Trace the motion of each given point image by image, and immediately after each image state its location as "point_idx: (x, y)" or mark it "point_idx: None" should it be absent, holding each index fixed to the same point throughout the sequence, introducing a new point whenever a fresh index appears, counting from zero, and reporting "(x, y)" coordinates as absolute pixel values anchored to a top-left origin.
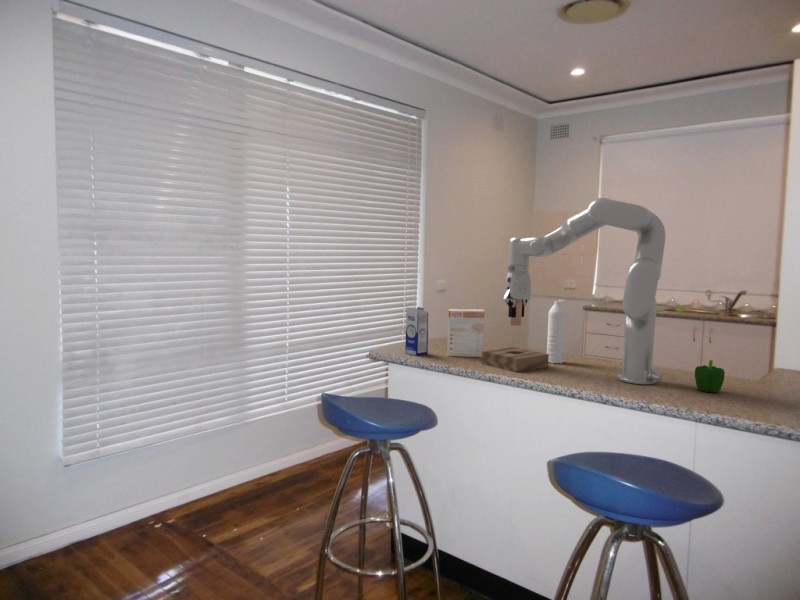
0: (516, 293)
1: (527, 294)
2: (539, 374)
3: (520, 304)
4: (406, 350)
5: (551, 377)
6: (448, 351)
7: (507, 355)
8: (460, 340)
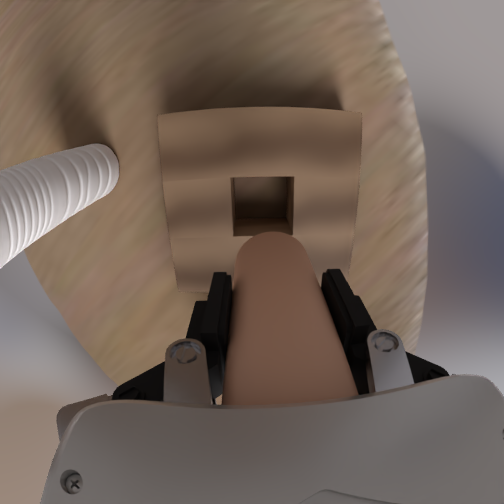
0: (493, 440)
1: (150, 471)
2: (297, 52)
3: (297, 347)
4: None
5: (295, 11)
6: None
7: (339, 178)
8: None
